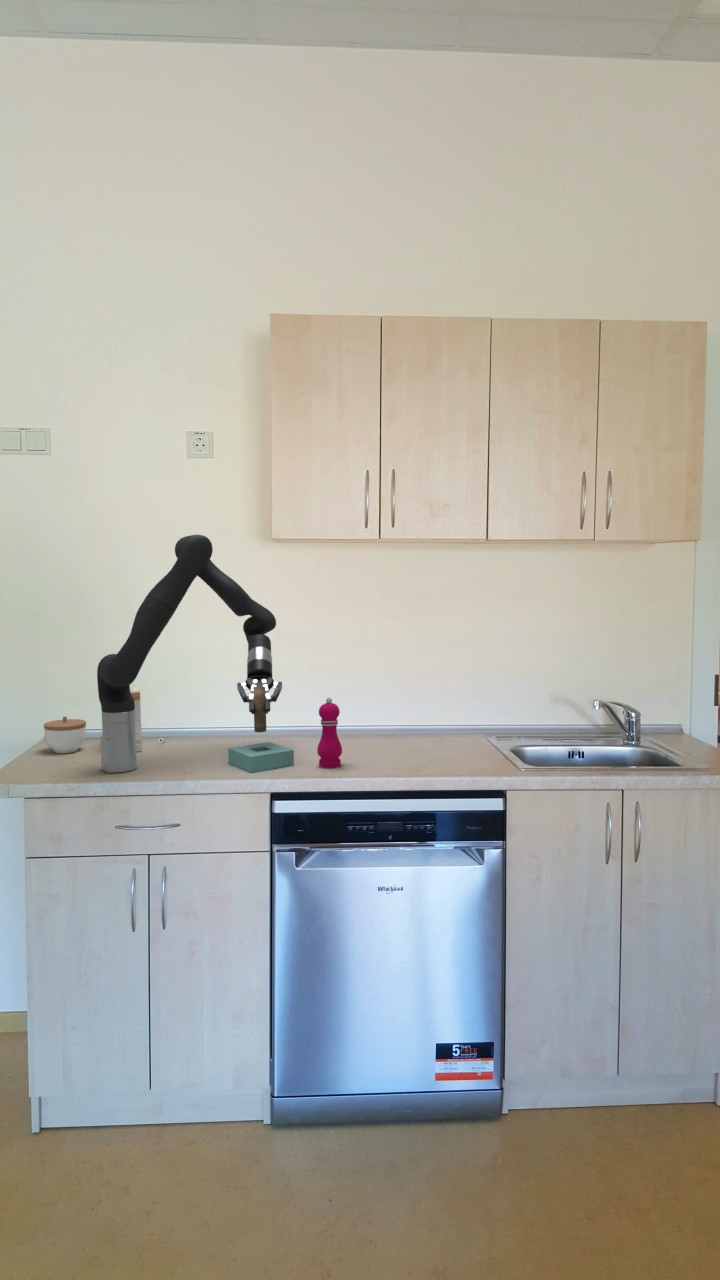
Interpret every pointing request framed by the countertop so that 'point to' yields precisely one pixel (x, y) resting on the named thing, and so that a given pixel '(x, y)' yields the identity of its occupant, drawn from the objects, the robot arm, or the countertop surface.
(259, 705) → the peg
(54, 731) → the lidded bowl
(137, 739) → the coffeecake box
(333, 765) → the pepper mill
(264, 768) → the socket block
